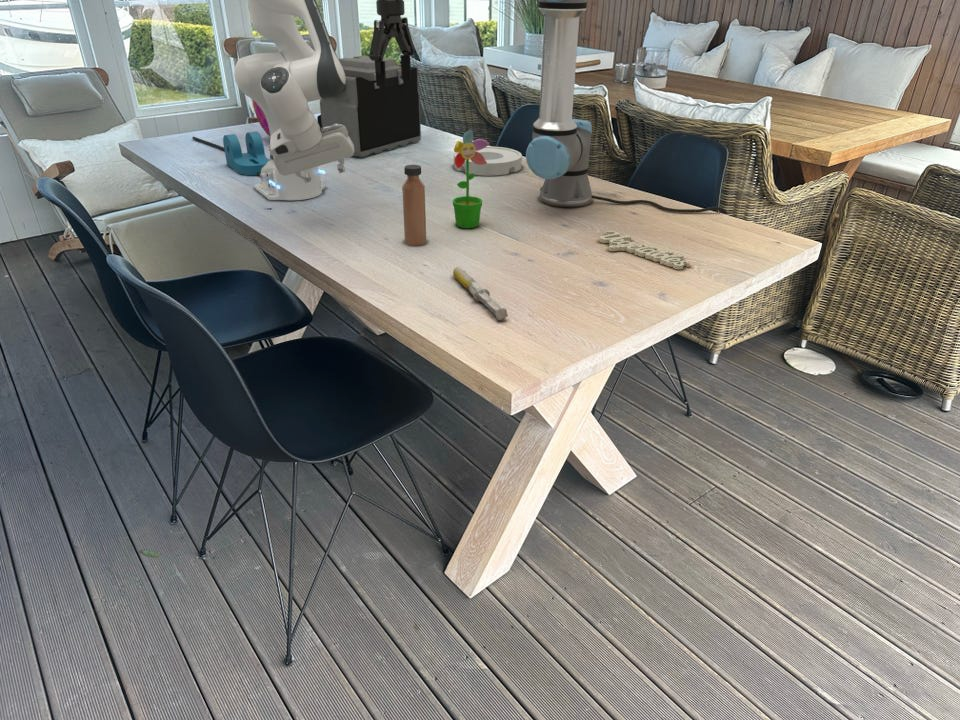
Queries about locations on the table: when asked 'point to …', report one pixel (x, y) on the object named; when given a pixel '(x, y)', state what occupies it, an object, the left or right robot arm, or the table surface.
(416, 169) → the cap
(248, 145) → the camera mount
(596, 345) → the table surface
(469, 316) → the table surface
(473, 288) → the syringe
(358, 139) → the grey and black block
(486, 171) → the ashtray
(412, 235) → the bottle
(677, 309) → the table surface
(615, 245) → the decorative sign
